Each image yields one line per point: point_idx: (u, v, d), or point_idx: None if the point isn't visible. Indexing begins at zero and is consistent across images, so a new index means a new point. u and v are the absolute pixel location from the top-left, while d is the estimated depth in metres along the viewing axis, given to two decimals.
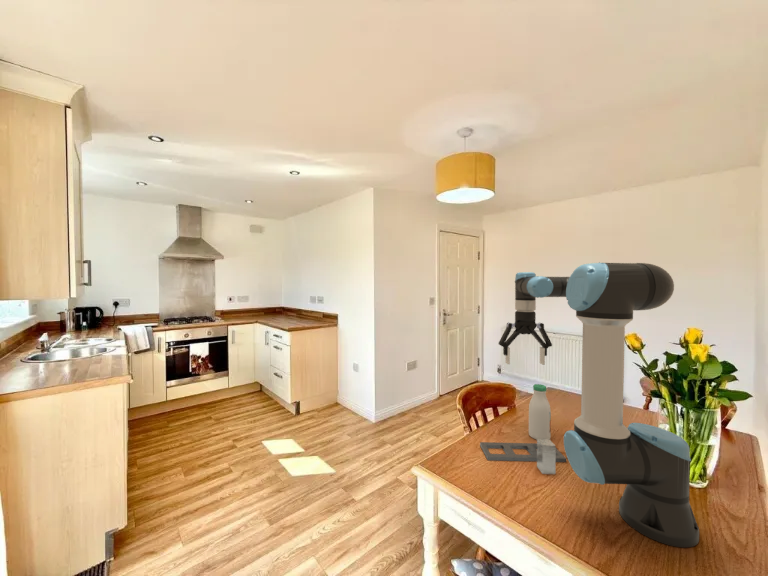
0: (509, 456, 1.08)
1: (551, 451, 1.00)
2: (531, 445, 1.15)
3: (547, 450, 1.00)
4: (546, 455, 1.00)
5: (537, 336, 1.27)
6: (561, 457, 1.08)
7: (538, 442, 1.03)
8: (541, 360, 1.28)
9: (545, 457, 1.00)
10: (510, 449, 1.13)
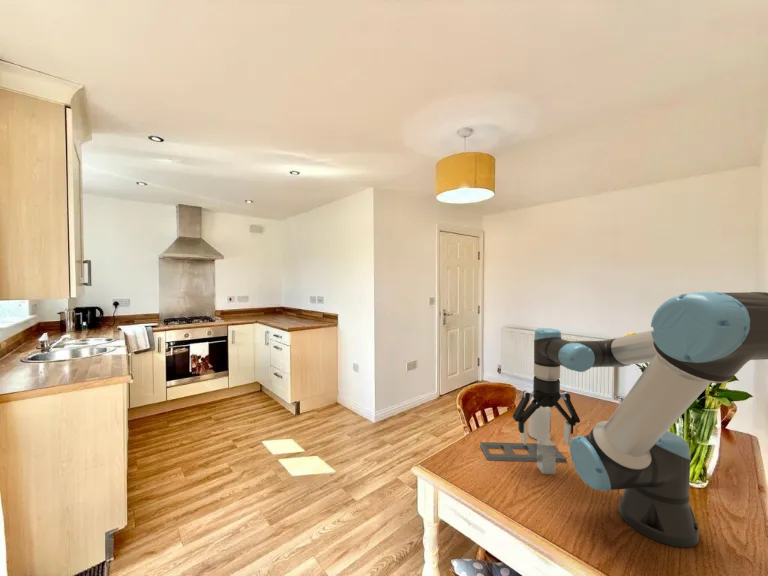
0: (509, 456, 1.08)
1: (551, 451, 1.00)
2: (531, 445, 1.15)
3: (548, 450, 1.00)
4: (546, 455, 1.00)
5: (561, 410, 1.01)
6: (561, 457, 1.08)
7: (538, 442, 1.03)
8: (566, 439, 1.02)
9: (545, 457, 1.00)
10: (510, 449, 1.13)
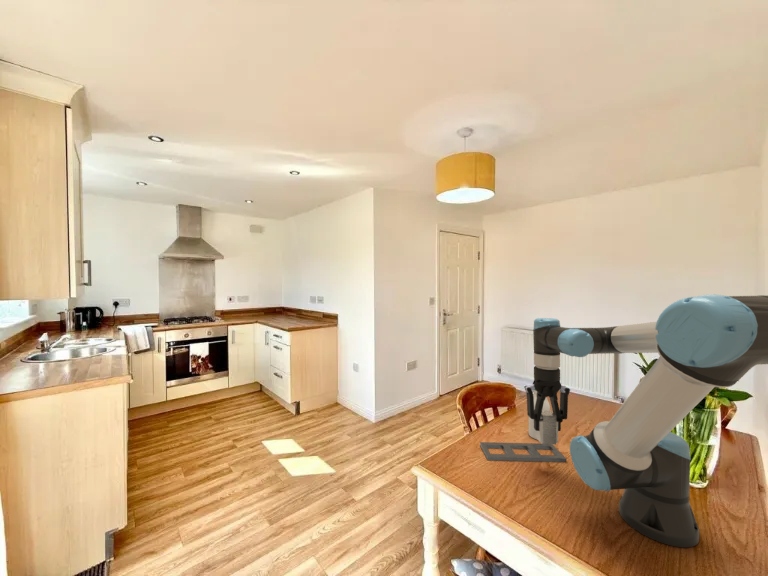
0: (509, 456, 1.08)
1: (552, 421, 1.00)
2: (531, 445, 1.15)
3: (548, 420, 1.00)
4: (547, 426, 1.00)
5: (556, 403, 1.01)
6: (561, 457, 1.08)
7: None
8: None
9: (546, 428, 1.00)
10: (510, 449, 1.13)
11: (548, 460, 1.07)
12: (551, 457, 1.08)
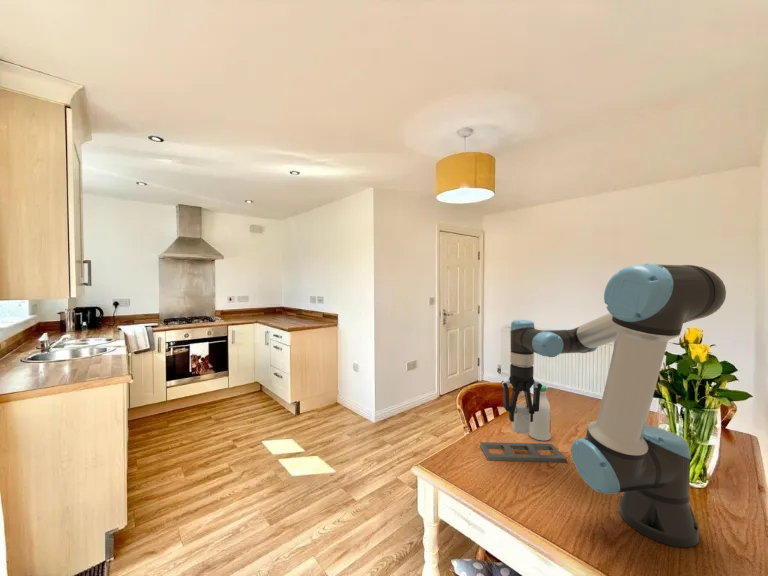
0: (509, 456, 1.08)
1: (525, 413, 1.11)
2: (531, 445, 1.15)
3: (521, 412, 1.11)
4: (520, 417, 1.11)
5: (529, 397, 1.11)
6: (561, 457, 1.08)
7: None
8: None
9: (519, 419, 1.11)
10: (510, 449, 1.13)
11: (548, 460, 1.07)
12: (551, 457, 1.08)
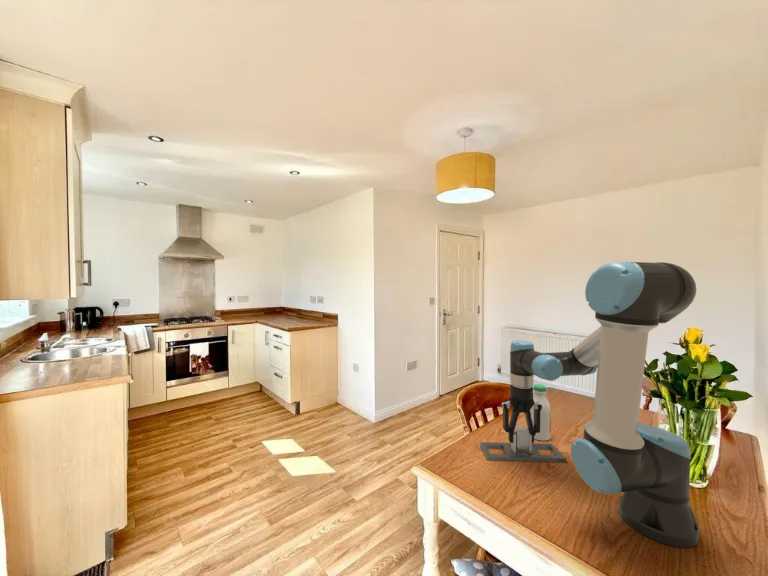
0: (509, 456, 1.08)
1: (525, 435, 1.11)
2: None
3: (522, 434, 1.11)
4: (520, 439, 1.11)
5: (529, 418, 1.11)
6: (561, 457, 1.08)
7: None
8: None
9: (519, 441, 1.11)
10: (510, 449, 1.13)
11: (548, 460, 1.07)
12: (551, 457, 1.08)
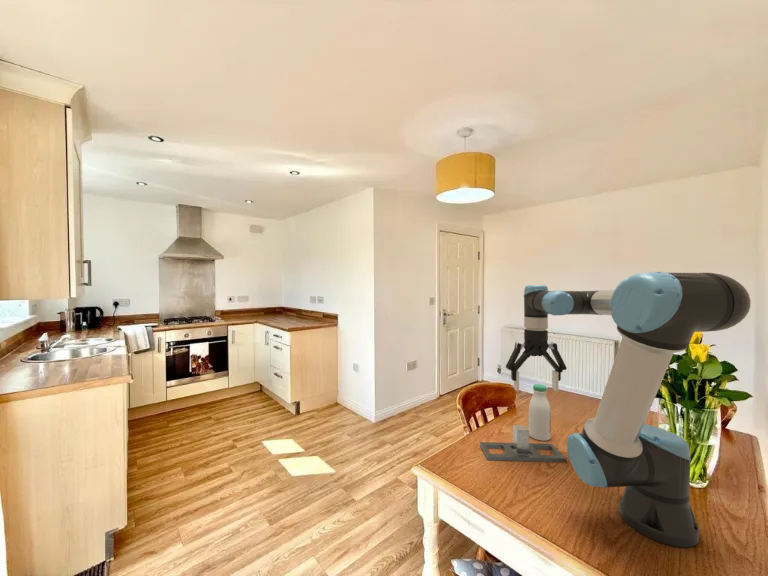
0: (509, 456, 1.08)
1: (525, 435, 1.11)
2: (531, 445, 1.15)
3: (522, 434, 1.11)
4: (520, 439, 1.11)
5: (550, 358, 1.11)
6: (561, 457, 1.08)
7: (514, 428, 1.14)
8: (554, 386, 1.12)
9: (519, 441, 1.11)
10: (510, 449, 1.13)
11: (548, 460, 1.07)
12: (551, 457, 1.08)
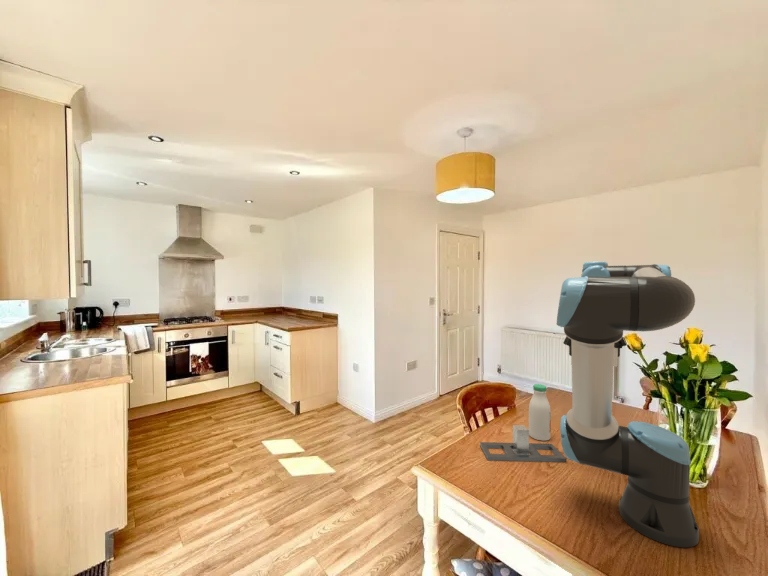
0: (509, 456, 1.08)
1: (525, 435, 1.11)
2: (531, 445, 1.15)
3: (522, 434, 1.11)
4: (520, 439, 1.11)
5: None
6: (561, 457, 1.08)
7: (514, 428, 1.14)
8: None
9: (519, 441, 1.11)
10: (510, 449, 1.13)
11: (548, 460, 1.07)
12: (551, 457, 1.08)
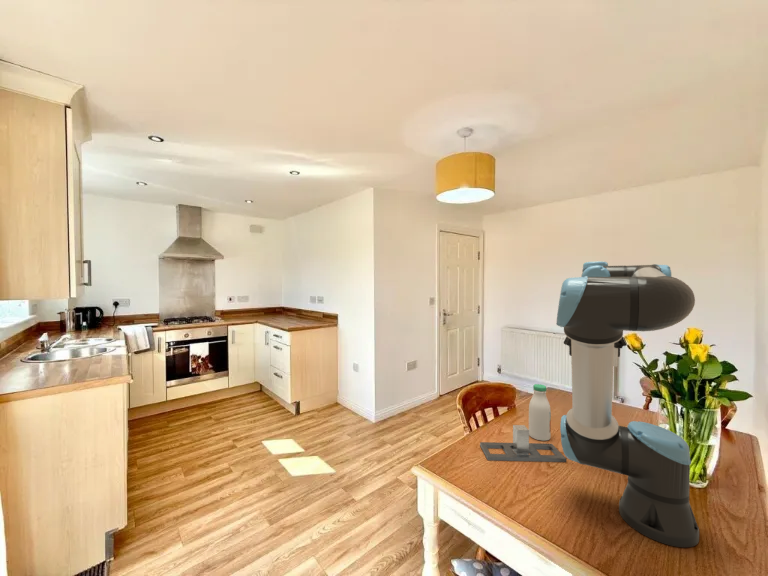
0: (509, 456, 1.08)
1: (525, 435, 1.11)
2: (531, 445, 1.15)
3: (522, 434, 1.11)
4: (520, 439, 1.11)
5: None
6: (561, 457, 1.08)
7: (514, 428, 1.14)
8: (613, 362, 1.13)
9: (519, 441, 1.11)
10: (510, 449, 1.13)
11: (548, 460, 1.07)
12: (551, 457, 1.08)
